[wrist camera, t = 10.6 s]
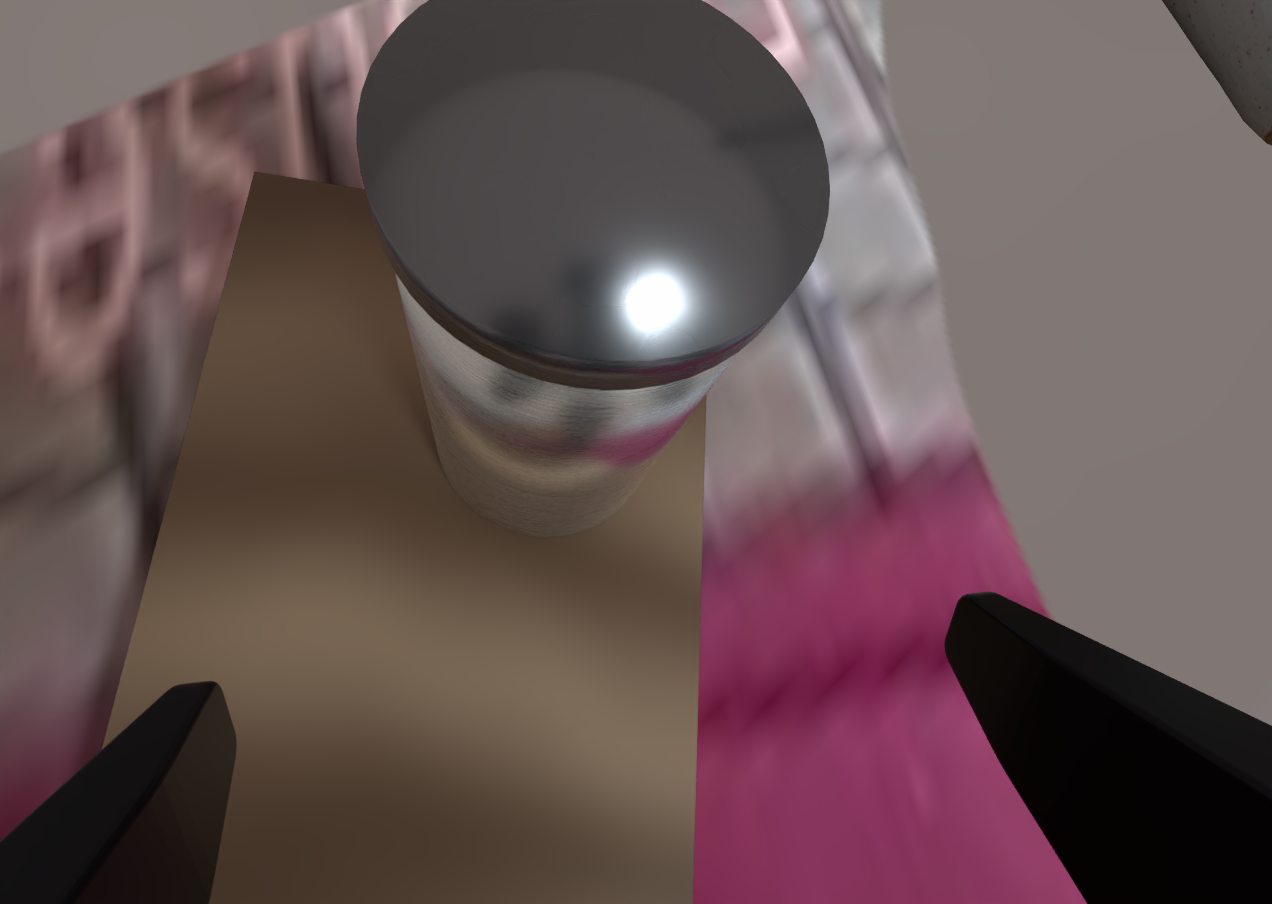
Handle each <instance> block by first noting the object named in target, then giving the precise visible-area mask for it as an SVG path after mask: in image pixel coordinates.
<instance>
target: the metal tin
mask: <svg viewBox="0 0 1272 904" xmlns="http://www.w3.org/2000/svg"><path fill="white" fill-rule="evenodd" d="M357 151H358V157H359V164H360V170H361V175H362V179H363V183H364V187H365V191H366V194H367V198H368V202H369V206H370V210H371V214H372V218H373V221H374V224H375V227H376V230H377V234H378V237H379V240H380V243H381V246H382V248H383V250H384V252H385V254H386V256H387V258H388V260H389V262H390V264H391V266H392V268H393V270H394V272H395V275H396V279H397V283H398V287H399V292H400V296H401V300H402V304H403V308H404V312H405V317H406V321H407V325H408V329H409V333H410V338H411V342H412V346H413V350H414V354H415V359H416V363H417V367H418V371H419V375H420V380H421V384H422V388H423V392H424V396H425V400H426V405H427V409H428V413H429V417H430V421H431V426H432V430H433V434H434V438H435V442H436V447H437V451H438V455H439V459H440V462H441V465H442V468H443V471H444V473H445V475H446V477H447V479H448V481H449V483H450V484H451V486H452V487H453V489H454V490H455V492H456V493H457V495H458V496H459V497H460V498H461V499H462V500H463V502H464V503H465V504H466V505H467V506H468V507H469V508H471V509H472V510H473V511H474V512H475V513H476V514H478V515H479V516H481V517H482V518H484V519H485V520H487V521H488V522H490V523H492V524H494V525H496V526H498V527H500V528H502V529H505V530H508V531H511V532H514V533H517V534H522V535H527V536H534V537H557V536H565V535H570V534H575V533H578V532H581V531H583V530H586V529H589V528H591V527H593V526H595V525H597V524H599V523H601V522H603V521H604V520H606V519H607V518H608V517H610V516H611V515H613V514H614V513H615V512H616V511H617V510H618V509H620V508H621V507H622V506H623V505H624V504H625V502H626V501H627V500H628V499H629V498H630V496H631V495H632V494H633V493H634V491H635V490H636V488H637V487H638V486H639V484H640V483H641V482H642V480H643V479H644V478H645V476H646V475H647V474H648V472H649V471H650V470H651V468H652V467H653V466H654V464H655V463H656V461H657V460H658V459H659V457H660V456H661V455H662V453H663V452H664V451H665V449H666V448H667V447H668V445H669V444H670V443H671V441H672V440H673V439H674V437H675V436H676V434H677V433H678V432H679V430H680V429H681V428H682V426H683V425H684V424H685V422H686V421H687V420H688V418H689V417H690V416H691V414H692V413H693V412H694V410H695V409H696V408H697V406H698V405H699V403H700V402H701V401H702V399H703V398H704V397H705V395H706V394H707V393H708V391H709V390H710V389H711V387H712V386H713V385H714V383H715V382H716V381H717V379H718V378H719V376H720V375H721V374H722V372H723V371H724V370H725V368H726V367H727V366H728V364H729V363H730V362H731V360H732V359H733V358H734V356H735V355H736V354H737V353H738V352H739V351H740V350H741V349H743V348H744V347H745V346H746V345H747V344H748V343H750V342H751V341H752V340H753V339H754V338H755V337H757V336H758V335H759V333H760V332H761V331H762V330H763V329H764V328H765V327H766V325H767V324H768V323H769V322H770V321H771V320H772V318H773V317H774V316H775V315H776V313H777V312H778V311H779V309H780V308H781V307H782V306H783V304H784V303H785V302H786V300H787V299H788V298H789V296H790V295H791V294H792V293H793V291H794V290H795V289H796V287H797V286H798V285H799V283H800V282H801V280H802V279H803V277H804V275H805V274H806V272H807V271H808V269H809V267H810V266H811V264H812V262H813V261H814V258H815V256H816V253H817V251H818V248H819V246H820V244H821V241H822V239H823V235H824V230H825V226H826V222H827V217H828V210H829V197H830V184H829V171H828V163H827V158H826V154H825V149H824V145H823V141H822V138H821V135H820V133H819V130H818V127H817V124H816V122H815V119H814V117H813V115H812V113H811V111H810V109H809V107H808V105H807V103H806V101H805V99H804V97H803V95H802V94H801V92H800V91H799V89H798V88H797V86H796V85H795V83H794V82H793V80H792V79H791V77H790V76H789V74H788V73H787V72H786V71H785V70H784V68H783V67H782V66H781V65H780V64H779V62H778V61H777V60H776V59H775V58H774V56H773V55H772V54H771V53H770V52H769V51H768V50H767V49H766V48H765V47H764V46H763V45H762V44H761V43H760V42H759V41H757V40H756V39H755V38H754V37H753V36H752V35H751V34H750V33H749V32H747V31H746V30H745V29H744V28H742V27H741V26H740V25H738V24H737V23H736V22H735V21H733V20H732V19H731V18H729V17H728V16H726V15H725V14H723V13H722V12H720V11H718V10H717V9H715V8H714V7H712V6H711V5H709V4H708V3H706V2H704V1H702V0H429V1H427V2H426V3H424V4H423V5H421V6H420V7H419V8H417V9H416V10H415V11H414V12H413V13H412V14H411V15H410V16H409V17H407V18H406V19H405V20H404V21H403V22H402V23H401V24H400V25H399V26H398V27H397V28H396V30H395V31H394V32H393V33H392V35H391V36H390V37H389V38H388V39H387V41H386V42H385V43H384V44H383V46H382V48H381V50H380V51H379V53H378V55H377V57H376V58H375V60H374V62H373V64H372V65H371V67H370V70H369V73H368V75H367V78H366V81H365V84H364V86H363V89H362V92H361V98H360V103H359V109H358V114H357Z"/></svg>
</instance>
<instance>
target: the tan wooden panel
mask: <svg viewBox="0 0 1272 904" xmlns="http://www.w3.org/2000/svg"><path fill="white" fill-rule="evenodd" d="M705 426H706V395H705V397H704V398H703V399H702V401H701V402H700V403H699V405H698V406H697V408H696V409H695V410H694V412H693V413H692V414H691V416H690V417H689V418H688V420H687V421H686V422H685V424H684V425H683V426H682V428H681V429H680V430H679V432H678V433H677V434H676V436H675V437H674V439H673V440H672V441H671V443H670V444H669V445H668V447H667V448H666V449H665V451H664V452H663V453H662V455H661V456H660V457H659V459H658V460H657V461H656V463H655V464H654V466H653V467H652V468H651V470H650V471H649V472H648V474H647V475H646V476H645V478H644V479H643V480H642V482H641V483H640V484H639V486H638V487H637V488H636V490H635V491H634V493H633V494H632V495H631V496H630V498H629V499H628V500H627V501H626V502H625V504H624V505H623V506H622V507H621V508H620V509H618V510H617V511H616V512H615V513H614V514H613V515H611V516H610V517H608V518H607V519H606V520H604V521H603V522H601V523H599V524H597V525H595V526H593V527H591V528H589V529H586V530H583V531H581V532H578V533H575V534H570V535H565V536H557V537H534V536H527V535H522V534H517V533H514V532H511V531H508V530H505V529H502V528H500V527H498V526H496V525H494V524H492V523H490V522H488V521H487V520H485V519H484V518H482V517H481V516H479V515H478V514H476V513H475V512H474V511H473V510H472V509H471V508H469V507H468V506H467V505H466V504H465V503H464V502H463V500H462V499H461V498H460V497H459V496H458V495H457V493H456V492H455V490H454V489H453V487H452V486H451V484H450V483H449V481H448V479H447V477H446V475H445V473H444V471H443V468H442V465H441V462H440V459H439V455H438V451H437V447H436V442H435V438H434V434H433V430H432V426H431V421H430V417H429V413H428V409H427V405H426V400H425V396H424V392H423V388H422V384H421V380H420V375H419V371H418V367H417V363H416V359H415V354H414V350H413V346H412V342H411V338H410V333H409V329H408V325H407V321H406V317H405V312H404V308H403V304H402V300H401V296H400V292H399V287H398V283H397V279H396V275H395V272H394V270H393V268H392V266H391V264H390V262H389V260H388V258H387V256H386V254H385V252H384V250H383V248H382V246H381V243H380V240H379V237H378V234H377V230H376V227H375V224H374V221H373V218H372V214H371V210H370V206H369V202H368V198H367V194H366V191H365V189H359V188H352V187H346V186H340V185H334V184H328V183H321V182H315V181H309V180H303V179H297V178H290V177H284V176H278V175H272V174H266V173H259V172H254V176H253V180H252V183H251V187H250V191H249V195H248V199H247V202H246V206H245V210H244V214H243V217H242V221H241V225H240V229H239V233H238V236H237V240H236V244H235V248H234V251H233V255H232V259H231V263H230V267H229V270H228V274H227V278H226V282H225V285H224V289H223V293H222V297H221V300H220V304H219V308H218V312H217V316H216V319H215V323H214V327H213V331H212V334H211V338H210V342H209V346H208V350H207V353H206V357H205V361H204V365H203V368H202V372H201V376H200V380H199V384H198V387H197V391H196V395H195V399H194V402H193V406H192V410H191V414H190V417H189V421H188V425H187V429H186V433H185V436H184V440H183V444H182V448H181V451H180V455H179V459H178V463H177V467H176V470H175V474H174V478H173V482H172V485H171V489H170V493H169V497H168V501H167V504H166V508H165V512H164V516H163V519H162V523H161V527H160V531H159V535H158V538H157V542H156V546H155V550H154V553H153V557H152V561H151V565H150V568H149V572H148V576H147V580H146V584H145V587H144V591H143V595H142V599H141V602H140V606H139V610H138V614H137V618H136V621H135V625H134V629H133V633H132V636H131V640H130V644H129V648H128V652H127V655H126V659H125V663H124V667H123V670H122V674H121V678H120V682H119V686H118V689H117V693H116V697H115V701H114V704H113V708H112V712H111V716H110V719H109V723H108V727H107V731H106V735H105V738H104V742H103V746H102V749H103V748H104V747H105V746H106V745H107V744H108V743H110V742H111V741H112V740H113V739H114V738H115V737H116V736H117V735H118V734H120V733H121V732H122V731H123V730H124V729H125V728H126V727H127V726H128V725H129V724H131V723H132V722H133V721H134V720H135V719H136V718H137V717H138V716H139V715H141V714H142V713H143V712H144V711H145V710H146V709H147V708H148V707H149V706H151V705H152V704H153V703H154V702H155V701H156V700H157V699H158V698H159V697H161V696H162V695H163V694H164V693H165V692H166V691H167V690H169V689H170V688H172V687H173V686H176V685H179V684H186V683H194V682H203V681H214V682H217V683H218V684H219V685H220V686H221V688H222V690H223V693H224V697H225V700H226V703H227V706H228V710H229V713H230V716H231V719H232V722H233V726H234V729H235V733H236V739H237V750H236V759H235V764H234V770H233V776H232V781H231V787H230V792H229V798H228V804H227V809H226V815H225V821H224V826H223V832H222V837H221V843H220V849H219V854H218V860H217V865H216V871H215V877H214V882H213V887H212V892H211V897H210V901H209V904H693V869H694V832H695V795H696V758H697V721H698V684H699V647H700V610H701V573H702V536H703V500H704V463H705Z"/></svg>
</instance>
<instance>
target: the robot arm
mask: <svg viewBox="0 0 1272 904" xmlns="http://www.w3.org/2000/svg"><path fill="white" fill-rule="evenodd" d="M945 653H946V656H947V659H948V662H949V664H950V666H951V668H952V670H953V671H954V673H955V675H956V677H957V679H958V681H959V683H960V685H961V687H962V689H963V691H964V693H965V695H966V697H967V699H968V701H969V703H970V705H971V707H972V709H973V711H974V713H975V715H976V717H977V719H978V721H979V723H980V725H981V727H982V729H983V731H984V733H985V735H986V737H987V739H988V741H989V743H990V745H991V747H992V749H993V751H994V753H995V754H996V756H997V758H998V760H999V762H1000V764H1001V765H1002V767H1003V769H1004V771H1005V772H1006V774H1007V776H1008V777H1009V779H1010V781H1011V782H1012V784H1013V785H1014V787H1015V789H1016V790H1017V792H1018V793H1019V795H1020V797H1021V798H1022V800H1023V802H1024V803H1025V805H1026V806H1027V808H1028V810H1029V811H1030V813H1031V814H1032V816H1033V818H1034V819H1035V821H1036V822H1037V824H1038V826H1039V827H1040V829H1041V830H1042V832H1043V834H1044V835H1045V837H1046V838H1047V840H1048V842H1049V843H1050V845H1051V846H1052V848H1053V850H1054V851H1055V853H1056V854H1057V856H1058V858H1059V859H1060V861H1061V862H1062V864H1063V866H1064V867H1065V869H1066V870H1067V872H1068V874H1069V875H1070V877H1071V878H1072V880H1073V882H1074V883H1075V885H1076V886H1077V888H1078V890H1079V891H1080V893H1081V894H1082V896H1083V898H1084V899H1085V901H1086V902H1087V904H1272V726H1271V725H1269V724H1267V723H1265V722H1262V721H1261V720H1258V719H1256V718H1254V717H1252V716H1250V715H1248V714H1246V713H1244V712H1242V711H1240V710H1238V709H1236V708H1234V707H1231V706H1229V705H1227V704H1225V703H1223V702H1221V701H1219V700H1217V699H1215V698H1213V697H1211V696H1208V695H1206V694H1205V693H1202V692H1200V691H1198V690H1196V689H1194V688H1192V687H1190V686H1188V685H1186V684H1184V683H1181V682H1180V681H1177V680H1175V679H1173V678H1171V677H1169V676H1167V675H1165V674H1163V673H1161V672H1159V671H1157V670H1155V669H1153V668H1151V667H1148V666H1146V665H1144V664H1142V663H1140V662H1138V661H1136V660H1134V659H1132V658H1130V657H1128V656H1126V655H1124V654H1122V653H1119V652H1117V651H1115V650H1113V649H1111V648H1109V647H1107V646H1105V645H1103V644H1100V643H1099V642H1097V641H1094V640H1092V639H1090V638H1088V637H1086V636H1084V635H1082V634H1080V633H1078V632H1076V631H1074V630H1072V629H1070V628H1067V627H1065V626H1063V625H1061V624H1059V623H1057V622H1055V621H1053V620H1051V619H1049V618H1047V617H1045V616H1043V615H1041V614H1039V613H1036V612H1034V611H1032V610H1030V609H1028V608H1026V607H1024V606H1022V605H1020V604H1018V603H1016V602H1014V601H1012V600H1009V599H1007V598H1005V597H1003V596H1001V595H999V594H997V593H994V592H980V593H972V594H966V595H963V596H962V597H961V598H960V599H959V600H958V602H957V605H956V608H955V611H954V614H953V617H952V620H951V623H950V626H949V629H948V632H947V635H946V638H945ZM236 750H237V739H236V733H235V729H234V726H233V722H232V719H231V716H230V713H229V710H228V706H227V703H226V700H225V697H224V693H223V690H222V688H221V686H220V685H219V684H218V683H217V682H214V681H203V682H194V683H186V684H179V685H176V686H173V687H172V688H170V689H169V690H167V691H166V692H165V693H164V694H163V695H162V696H161V697H159V698H158V699H157V700H156V701H155V702H154V703H153V704H152V705H151V706H149V707H148V708H147V709H146V710H145V711H144V712H143V713H142V714H141V715H139V716H138V717H137V718H136V719H135V720H134V721H133V722H132V723H131V724H129V725H128V726H127V727H126V728H125V729H124V730H123V731H122V732H121V733H120V734H118V735H117V736H116V737H115V738H114V739H113V740H112V741H111V742H110V743H108V744H107V745H106V746H105V747H104V748H103V749H102V750H101V751H100V752H98V753H97V754H96V755H95V756H94V757H93V758H92V759H91V760H90V761H89V762H87V763H86V764H85V765H84V766H83V767H82V768H81V769H80V770H79V771H77V772H76V773H75V774H74V775H73V776H72V777H71V778H70V779H69V780H67V781H66V782H65V783H64V784H63V785H62V786H61V787H60V788H59V789H58V790H56V791H55V792H54V793H53V794H52V795H51V796H50V797H49V798H48V799H46V800H45V801H44V802H43V803H42V804H41V805H40V806H39V807H38V808H36V809H35V810H34V811H33V812H32V813H31V814H30V815H29V816H28V817H26V818H25V819H24V820H23V821H22V822H21V823H20V824H19V825H18V826H17V827H15V828H14V829H13V830H12V831H11V832H10V833H9V834H8V835H7V836H5V837H4V838H3V839H2V840H1V841H0V904H209V901H210V897H211V892H212V887H213V882H214V877H215V871H216V865H217V860H218V854H219V849H220V843H221V837H222V832H223V826H224V821H225V815H226V809H227V804H228V798H229V792H230V787H231V781H232V776H233V770H234V764H235V759H236Z"/></svg>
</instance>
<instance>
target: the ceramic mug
mask: <svg viewBox="0 0 1272 904" xmlns="http://www.w3.org/2000/svg"><path fill="white" fill-rule="evenodd" d="M1162 1H1163V2H1164V4H1165V5H1166V7H1167V8H1168V10H1169V11H1170V13H1171V14H1172V16H1173V17H1174V18H1175V20H1176V21H1177V23H1178V24H1179V26H1180V27H1181V29H1182V30H1183V32H1184V33H1185V35H1186V36H1187V38H1188V39H1189V41H1190V42H1191V44H1192V45H1193V47H1194V48H1195V50H1196V51H1197V53H1198V54H1199V56H1200V57H1201V58H1202V60H1203V61H1204V62H1205V64H1206V65H1207V67H1208V68H1209V70H1210V71H1211V72H1212V74H1213V75H1214V77H1215V78H1216V79H1217V81H1218V82H1219V83H1220V85H1221V87H1222V88H1223V90H1224V92H1225V93H1226V95H1227V96H1228V98H1229V99H1230V101H1231V102H1232V104H1233V106H1234V107H1235V108H1236V110H1237V111H1238V113H1239V114H1240V116H1241V118H1242V119H1243V121H1244V122H1245V123H1246V124H1247V125H1248V126H1249V127H1250V128H1251V129H1252V130H1253V131H1254V132H1255V133H1256V134H1257V135H1258V136H1259V137H1261V138H1262V139H1263V140H1264V141H1265V142H1266V143H1267V144H1270V145H1272V0H1162Z"/></svg>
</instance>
